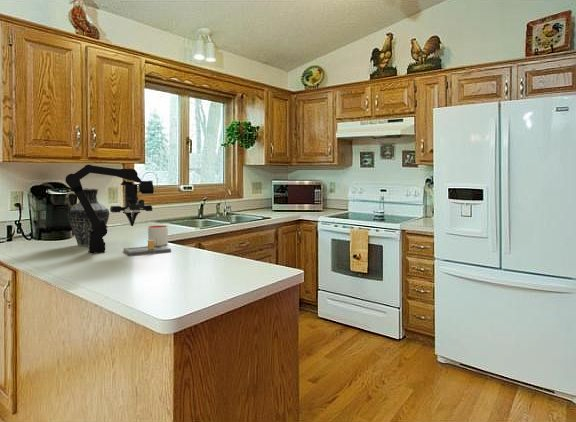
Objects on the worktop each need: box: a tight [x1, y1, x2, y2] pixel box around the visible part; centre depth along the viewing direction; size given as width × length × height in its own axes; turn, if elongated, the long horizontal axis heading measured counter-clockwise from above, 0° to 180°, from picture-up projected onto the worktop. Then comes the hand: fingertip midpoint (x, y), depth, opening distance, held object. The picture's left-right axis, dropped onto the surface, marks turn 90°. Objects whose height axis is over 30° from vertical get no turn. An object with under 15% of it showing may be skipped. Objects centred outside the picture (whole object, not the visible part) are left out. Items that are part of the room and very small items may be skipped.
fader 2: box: [156, 237, 162, 246], centre depth 200 cm, size 2×2×4 cm
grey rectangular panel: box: [123, 245, 172, 257], centre depth 193 cm, size 19×13×2 cm
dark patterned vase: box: [64, 187, 110, 247], centre depth 208 cm, size 21×19×30 cm
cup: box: [147, 225, 169, 246], centre depth 212 cm, size 10×10×10 cm
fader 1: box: [147, 240, 154, 249], centre depth 190 cm, size 2×2×4 cm
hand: (132, 226), depth 196 cm, fingers closed
